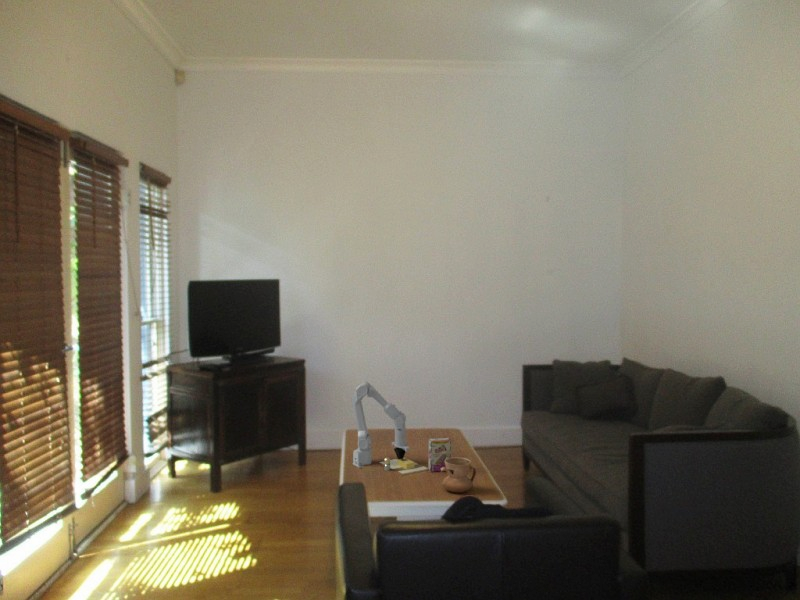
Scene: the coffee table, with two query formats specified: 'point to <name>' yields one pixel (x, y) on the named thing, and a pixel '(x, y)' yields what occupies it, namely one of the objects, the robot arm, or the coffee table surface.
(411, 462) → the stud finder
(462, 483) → the ceramic jug
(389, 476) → the coffee table surface
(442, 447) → the candy bar box
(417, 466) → the subfloor board
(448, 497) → the coffee table surface
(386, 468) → the banded metal canister
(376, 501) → the coffee table surface
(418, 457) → the coffee table surface
